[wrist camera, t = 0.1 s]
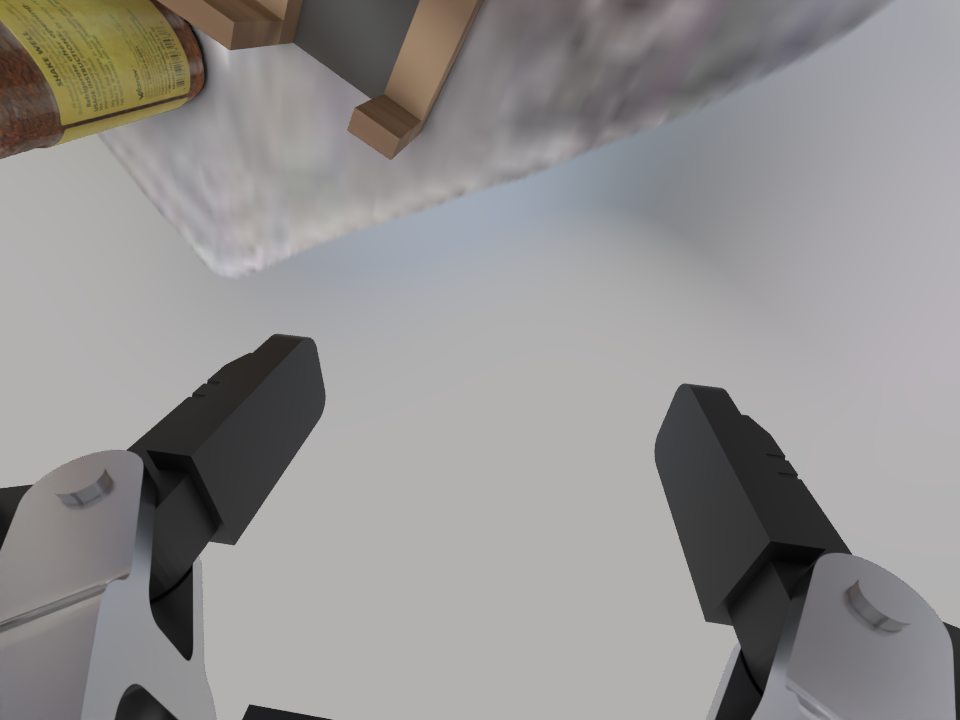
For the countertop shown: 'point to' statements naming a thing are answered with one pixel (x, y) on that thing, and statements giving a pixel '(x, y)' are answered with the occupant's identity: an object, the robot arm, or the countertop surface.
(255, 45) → the wooden holder
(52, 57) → the sauce bottle
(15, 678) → the robot arm
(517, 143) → the countertop surface
